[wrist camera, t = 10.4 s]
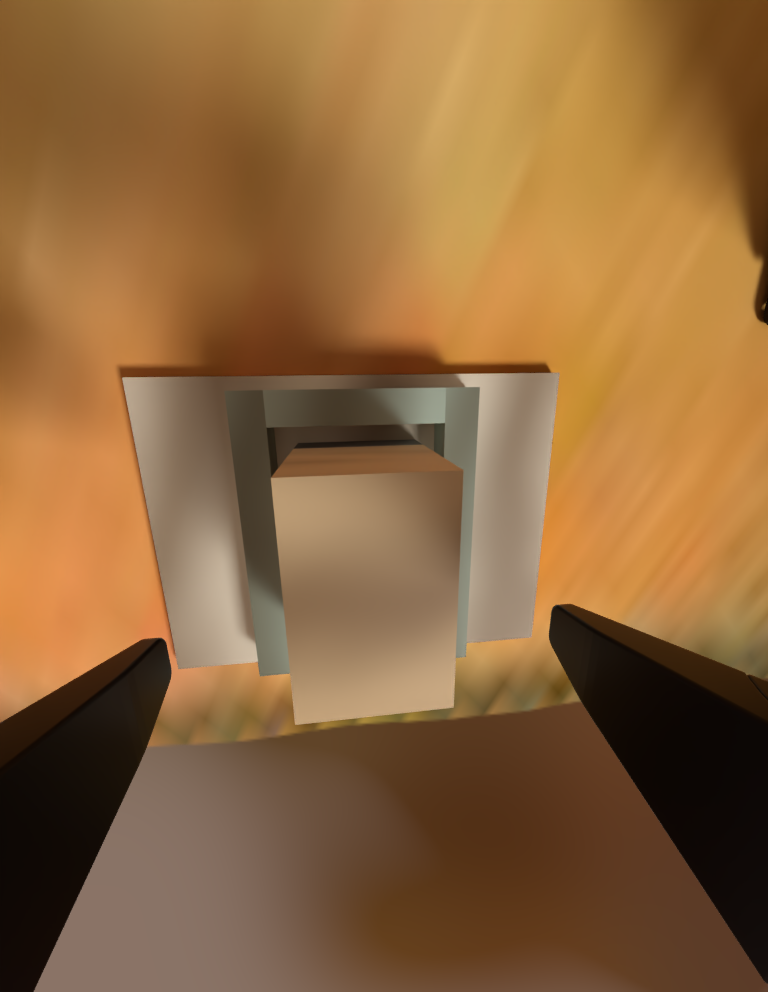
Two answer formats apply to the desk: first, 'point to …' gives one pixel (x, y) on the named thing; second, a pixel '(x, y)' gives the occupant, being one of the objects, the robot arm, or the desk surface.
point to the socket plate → (331, 418)
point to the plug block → (369, 576)
